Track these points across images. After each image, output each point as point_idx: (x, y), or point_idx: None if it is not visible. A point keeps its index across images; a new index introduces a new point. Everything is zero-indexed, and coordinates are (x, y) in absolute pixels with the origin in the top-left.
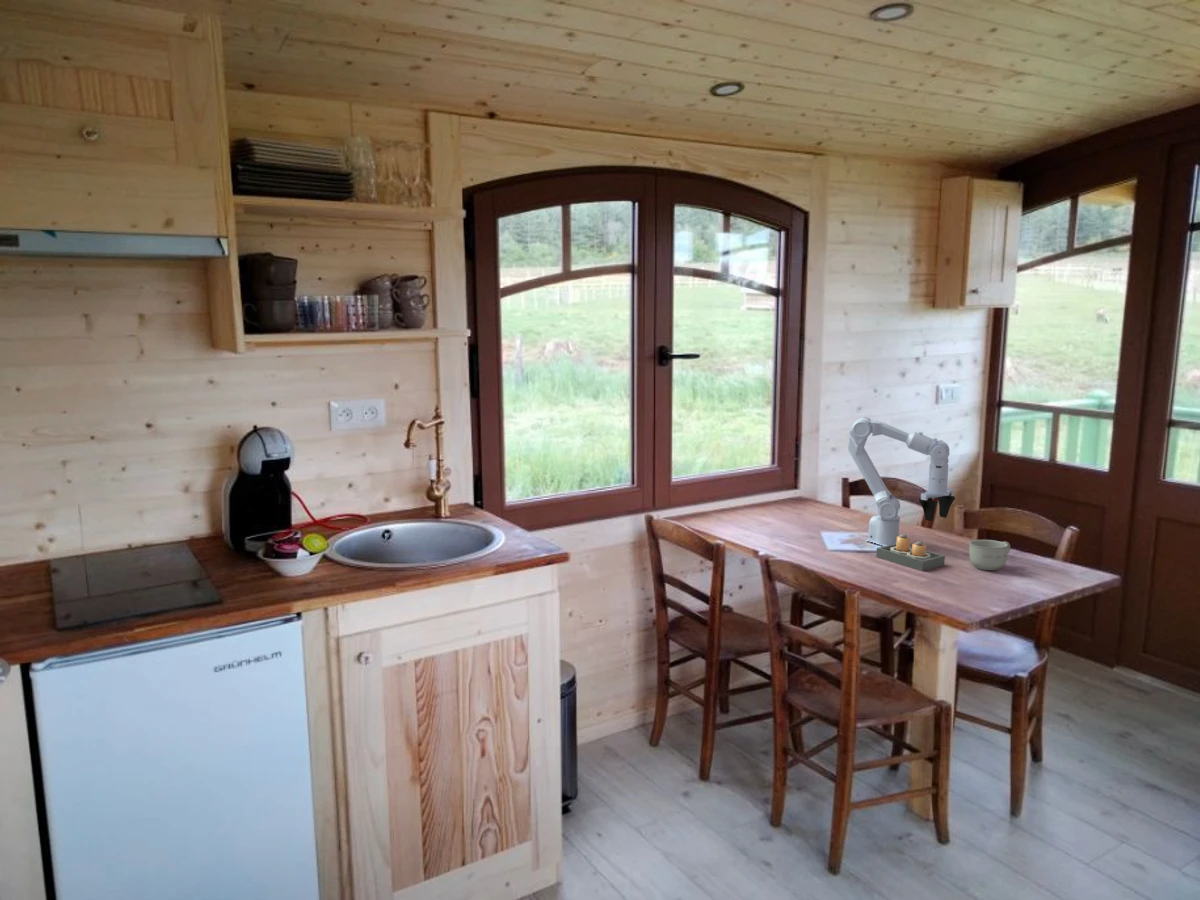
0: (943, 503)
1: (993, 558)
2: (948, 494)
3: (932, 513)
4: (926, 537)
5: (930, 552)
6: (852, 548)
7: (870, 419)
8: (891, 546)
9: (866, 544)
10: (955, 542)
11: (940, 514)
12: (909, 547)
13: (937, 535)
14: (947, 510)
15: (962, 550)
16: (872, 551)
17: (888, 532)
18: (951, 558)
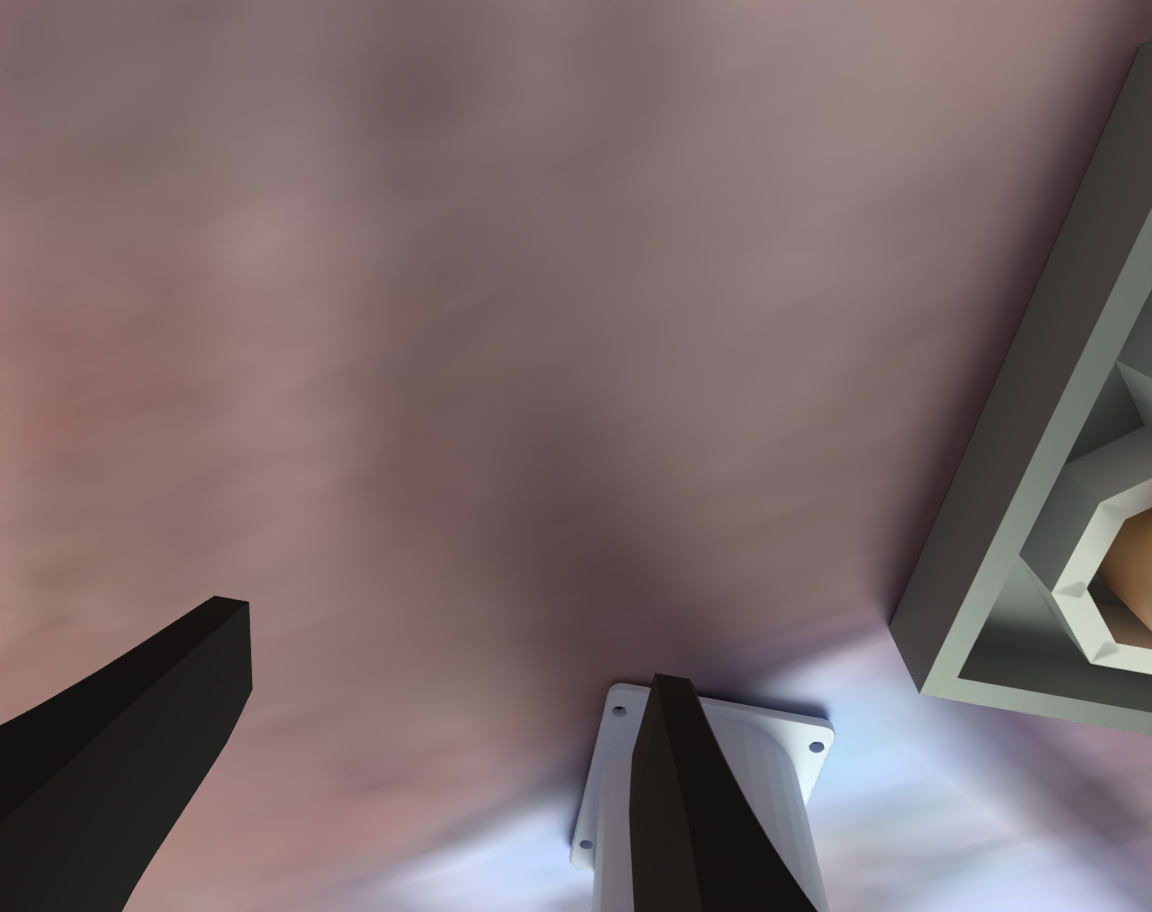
0: (62, 907)
1: None
2: None
3: (720, 791)
4: None
5: (1143, 280)
6: (1039, 886)
7: None
8: (1083, 694)
9: (835, 862)
10: (85, 394)
11: (231, 714)
12: (1010, 559)
13: (44, 606)
14: (143, 685)
15: (297, 195)
16: (1030, 767)
17: (814, 869)
18: (741, 128)
